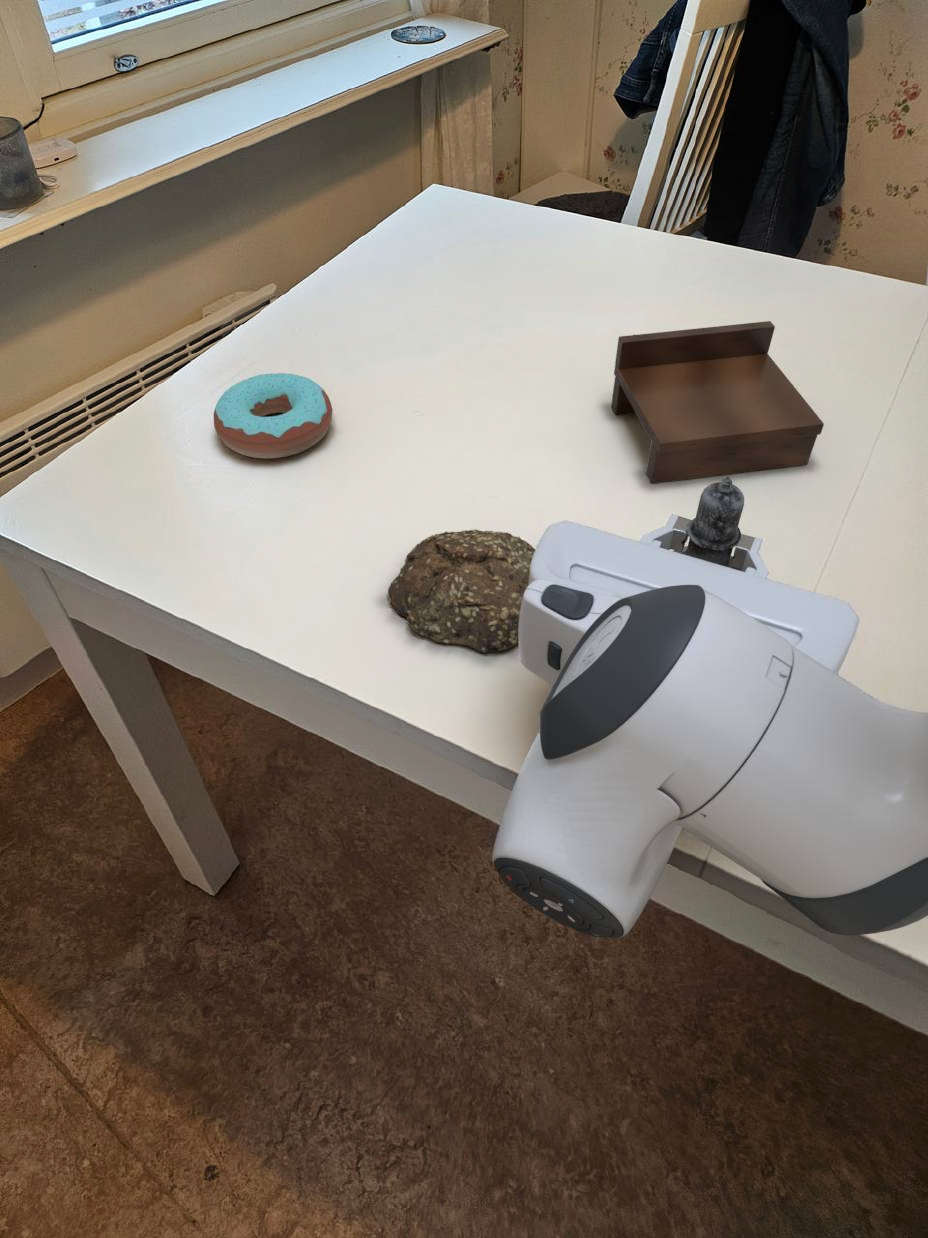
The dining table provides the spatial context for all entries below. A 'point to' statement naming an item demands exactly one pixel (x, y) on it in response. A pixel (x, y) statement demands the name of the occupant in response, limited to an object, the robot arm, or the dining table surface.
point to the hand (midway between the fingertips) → (714, 533)
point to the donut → (275, 434)
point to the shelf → (712, 402)
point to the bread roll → (465, 588)
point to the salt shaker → (716, 524)
